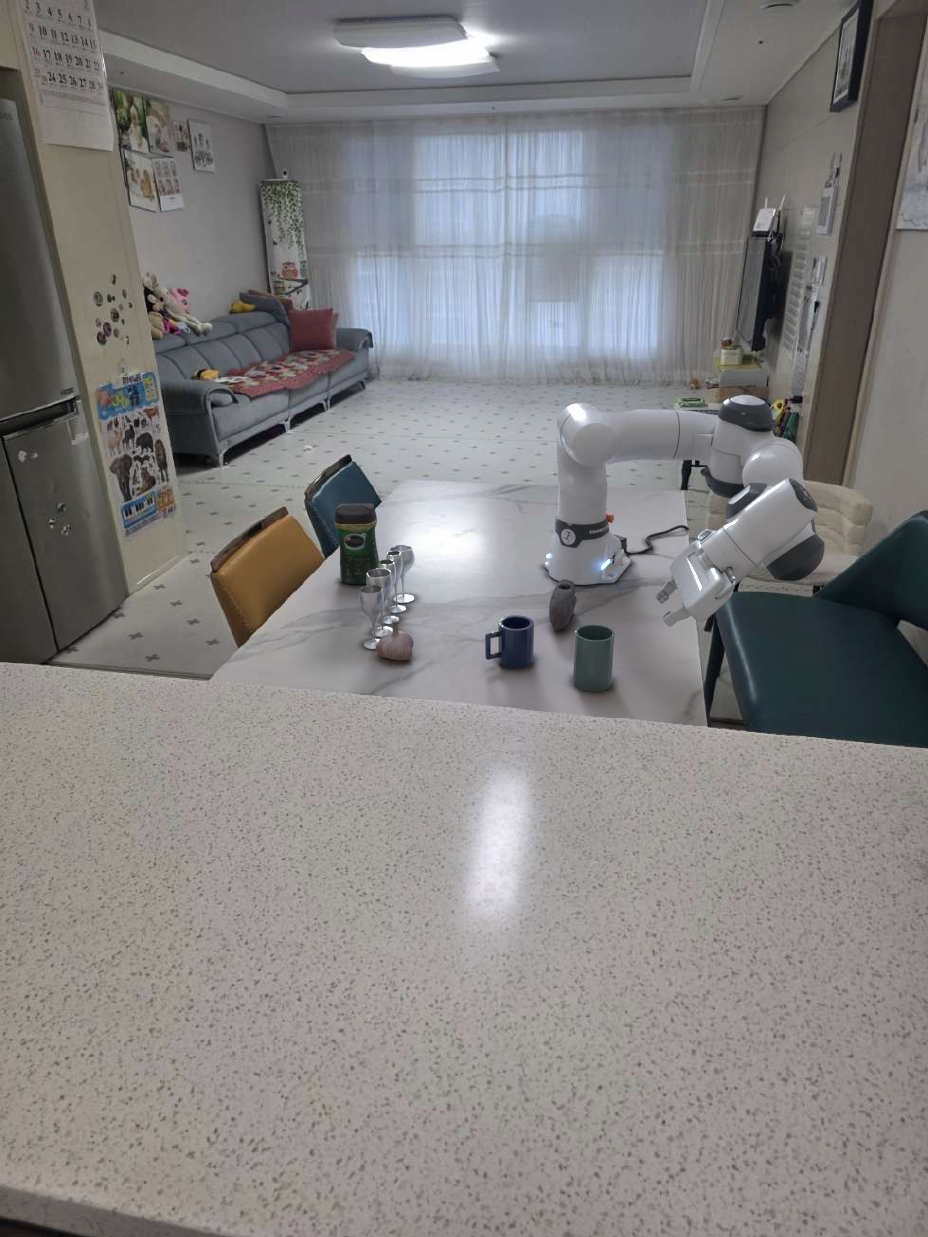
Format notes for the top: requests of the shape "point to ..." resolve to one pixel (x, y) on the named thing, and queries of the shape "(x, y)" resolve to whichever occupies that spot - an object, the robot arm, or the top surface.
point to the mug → (512, 642)
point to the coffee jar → (356, 541)
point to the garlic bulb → (395, 644)
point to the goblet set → (386, 590)
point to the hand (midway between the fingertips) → (661, 610)
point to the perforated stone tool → (562, 604)
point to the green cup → (593, 657)
